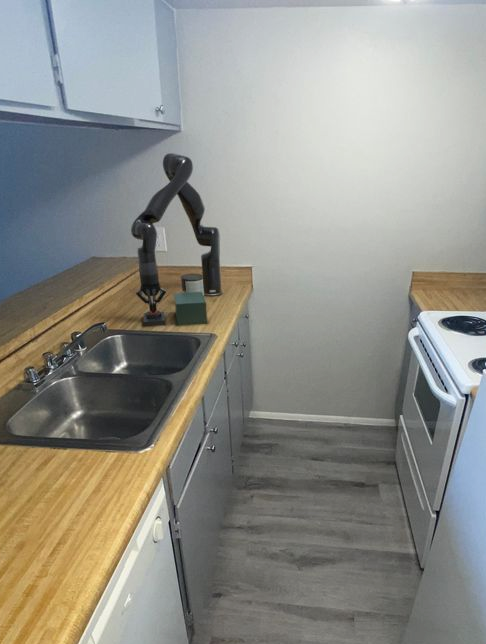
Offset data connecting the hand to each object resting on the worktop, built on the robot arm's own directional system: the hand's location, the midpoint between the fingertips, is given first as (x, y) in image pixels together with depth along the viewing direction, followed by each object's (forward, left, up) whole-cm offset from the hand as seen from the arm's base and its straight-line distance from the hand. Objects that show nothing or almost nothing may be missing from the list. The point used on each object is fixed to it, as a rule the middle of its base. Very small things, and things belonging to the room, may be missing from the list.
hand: (153, 312), depth 205 cm
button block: (0, 0, -4) cm, 4 cm away
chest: (0, +16, -4) cm, 17 cm away
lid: (-1, +16, +4) cm, 17 cm away
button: (0, 0, -2) cm, 2 cm away
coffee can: (-20, +19, -5) cm, 28 cm away
